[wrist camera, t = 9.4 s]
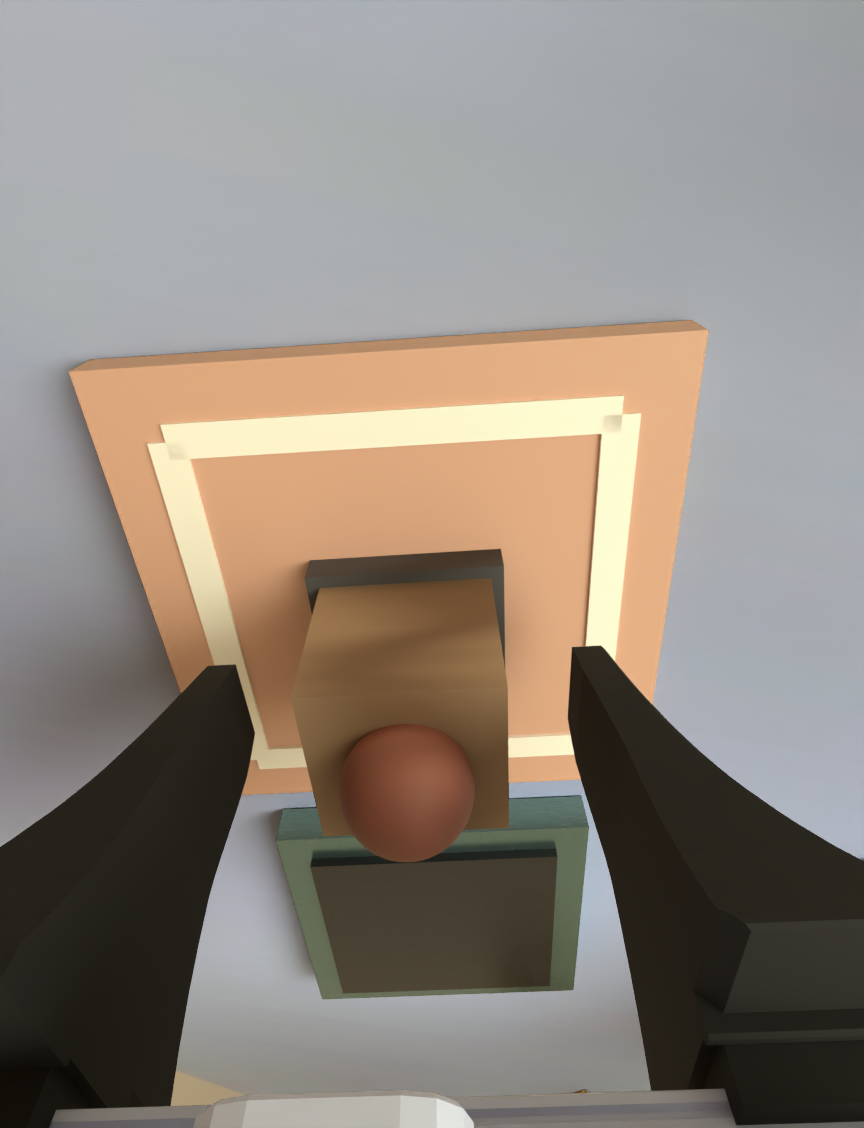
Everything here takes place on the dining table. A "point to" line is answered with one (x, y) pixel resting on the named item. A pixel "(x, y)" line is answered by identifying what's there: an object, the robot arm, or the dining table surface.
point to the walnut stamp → (406, 699)
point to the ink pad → (442, 906)
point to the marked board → (405, 500)
